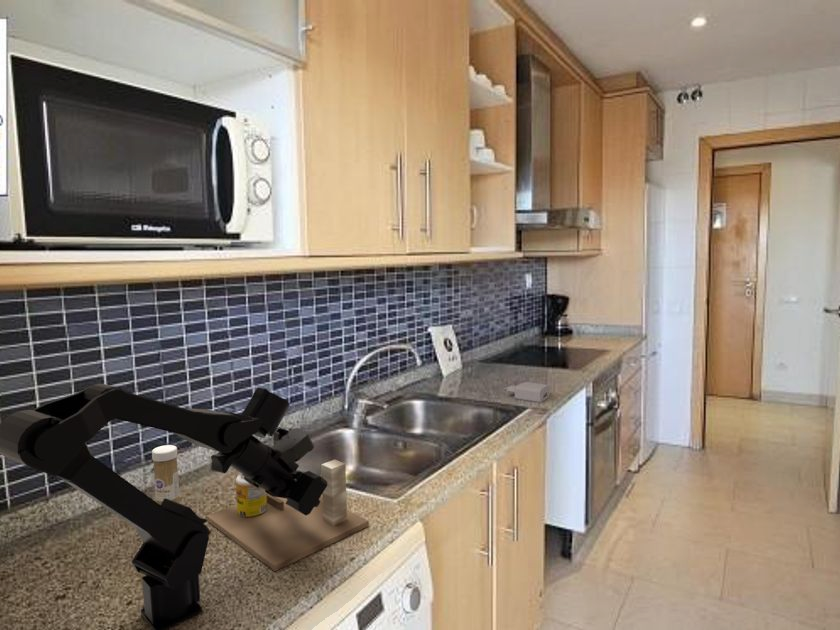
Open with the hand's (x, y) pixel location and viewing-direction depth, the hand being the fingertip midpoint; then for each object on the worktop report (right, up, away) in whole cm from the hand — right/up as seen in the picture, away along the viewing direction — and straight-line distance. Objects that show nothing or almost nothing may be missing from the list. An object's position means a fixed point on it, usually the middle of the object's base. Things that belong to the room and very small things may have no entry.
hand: (313, 501), depth 99 cm
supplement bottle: (-14, -6, +8) cm, 17 cm away
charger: (+56, +5, +92) cm, 108 cm away
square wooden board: (-6, -6, +5) cm, 10 cm away
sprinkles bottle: (-31, -6, +10) cm, 33 cm away
